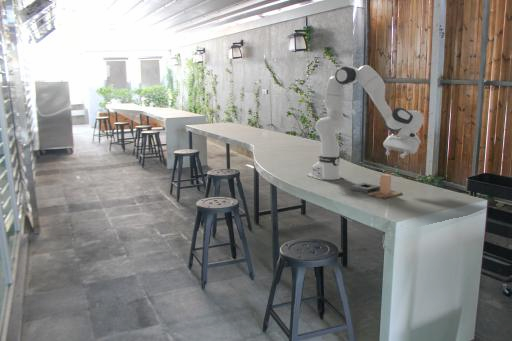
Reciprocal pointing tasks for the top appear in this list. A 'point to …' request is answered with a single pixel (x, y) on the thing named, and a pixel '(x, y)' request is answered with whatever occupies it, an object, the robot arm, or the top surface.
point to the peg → (385, 183)
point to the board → (385, 196)
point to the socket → (365, 188)
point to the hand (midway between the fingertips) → (393, 156)
